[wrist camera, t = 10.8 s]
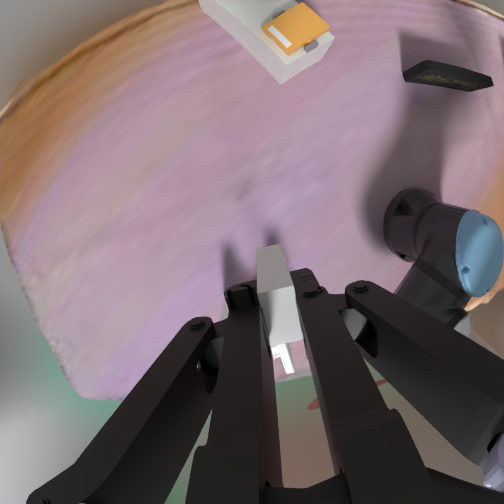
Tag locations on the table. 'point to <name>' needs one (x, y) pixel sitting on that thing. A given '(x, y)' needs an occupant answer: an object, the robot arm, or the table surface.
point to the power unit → (257, 42)
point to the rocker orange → (295, 28)
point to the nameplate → (447, 76)
